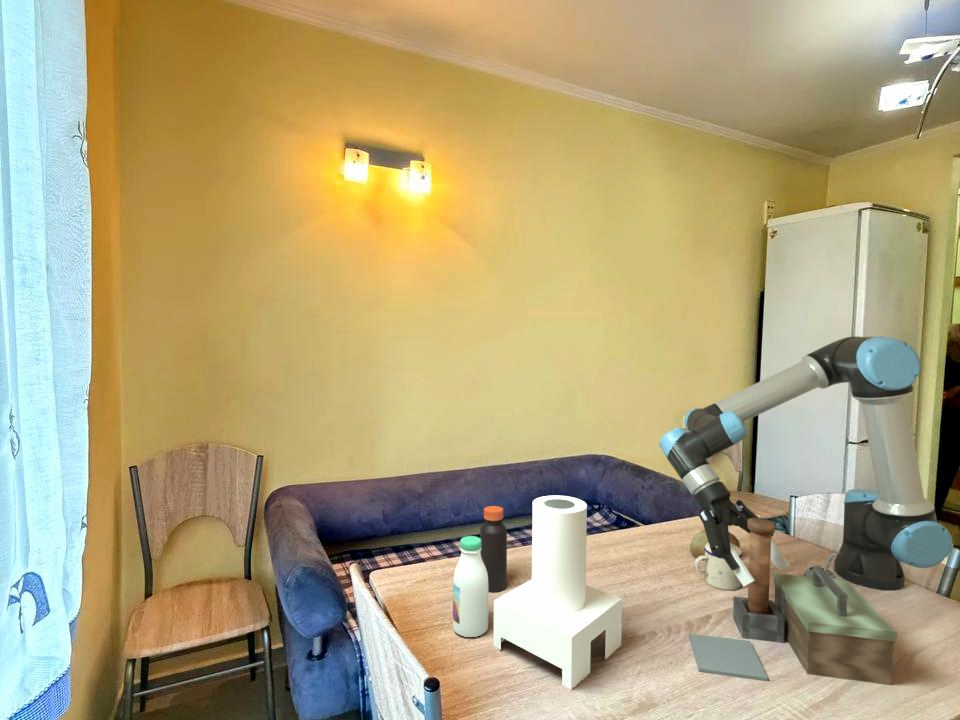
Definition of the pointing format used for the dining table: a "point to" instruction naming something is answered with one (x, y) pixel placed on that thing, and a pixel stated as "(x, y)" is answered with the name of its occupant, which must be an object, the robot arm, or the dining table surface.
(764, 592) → the wooden pepper mill
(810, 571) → the mate gourd
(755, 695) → the dining table surface
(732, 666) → the rubber mat
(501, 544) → the vinegar
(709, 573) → the teacup with lid
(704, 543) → the bread roll
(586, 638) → the paper towel holder
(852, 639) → the toolbox
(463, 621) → the milk bottle
